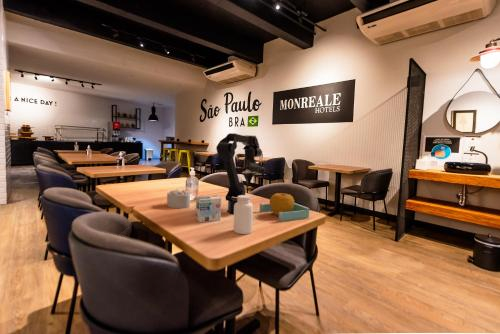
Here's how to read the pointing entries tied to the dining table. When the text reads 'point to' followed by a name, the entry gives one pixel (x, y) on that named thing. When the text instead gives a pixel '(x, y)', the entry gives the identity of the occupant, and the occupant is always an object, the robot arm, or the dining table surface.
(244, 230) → the pill bottle
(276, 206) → the apple
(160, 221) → the dining table surface
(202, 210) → the light bulb box
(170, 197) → the lumpy-topped squat cylinder
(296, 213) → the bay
